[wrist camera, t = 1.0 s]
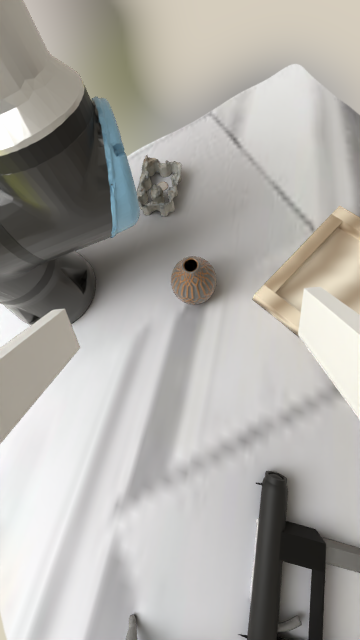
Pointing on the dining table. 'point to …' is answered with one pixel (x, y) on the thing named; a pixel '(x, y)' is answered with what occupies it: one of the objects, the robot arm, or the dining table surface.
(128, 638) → the mug
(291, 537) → the door handle
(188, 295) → the vase
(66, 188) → the robot arm
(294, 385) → the dining table surface
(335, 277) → the tray
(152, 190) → the egg carton
